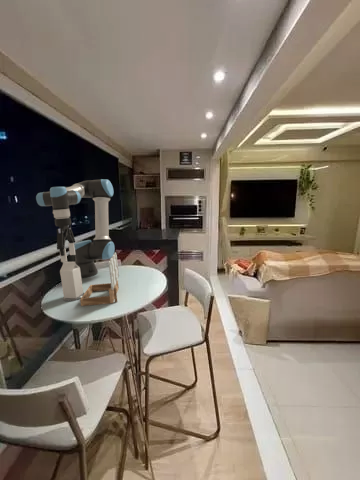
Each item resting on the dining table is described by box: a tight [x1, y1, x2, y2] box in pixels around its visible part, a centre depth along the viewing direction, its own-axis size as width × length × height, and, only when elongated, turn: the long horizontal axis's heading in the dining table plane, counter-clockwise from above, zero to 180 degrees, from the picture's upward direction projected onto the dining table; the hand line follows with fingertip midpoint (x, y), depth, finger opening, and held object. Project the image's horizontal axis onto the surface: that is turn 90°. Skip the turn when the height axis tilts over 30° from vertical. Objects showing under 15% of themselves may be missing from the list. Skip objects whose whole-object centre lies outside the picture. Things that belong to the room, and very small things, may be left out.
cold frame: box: [79, 252, 120, 307], centre depth 135 cm, size 20×17×21 cm
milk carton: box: [59, 261, 84, 298], centre depth 137 cm, size 7×7×19 cm
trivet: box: [62, 292, 85, 302], centre depth 138 cm, size 11×11×1 cm
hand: (68, 258), depth 135 cm, fingers open, 13 cm apart
